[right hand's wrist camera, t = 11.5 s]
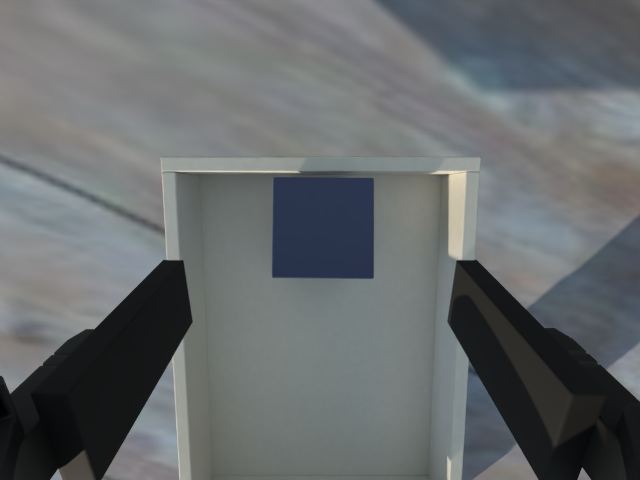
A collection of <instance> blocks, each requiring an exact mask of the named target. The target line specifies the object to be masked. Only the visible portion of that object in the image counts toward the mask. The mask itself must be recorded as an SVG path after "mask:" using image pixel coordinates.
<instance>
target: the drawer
mask: <svg viewBox="0 0 640 480" xmlns="http://www.w3.org/2000/svg"><path fill="white" fill-rule="evenodd" d="M480 162H481V157H161V171H162V184H163V201H164V219H165V236H166V253H167V260H184V267H185V274H186V280H187V287H188V293H189V300H190V306H191V313H192V320H193V322H192V324H191V326H190V328H189V329H188V331H187V333H186V335H185V336H184V338H183V340H182V341H181V343H180V345H179V347H178V348H177V350H176V352H175V354H174V355H173V373H174V390H175V407H176V425H177V442H178V459H179V476H180V480H462V466H463V449H464V432H465V415H466V398H467V381H468V364H469V359H468V357H467V355H466V354H465V352H464V350H463V348H462V347H461V345H460V343H459V341H458V340H457V338H456V336H455V335H454V333H453V331H452V329H451V328H450V326H449V324H448V322H447V320H448V313H449V306H450V300H451V293H452V287H453V280H454V273H455V267H456V260H475V245H476V228H477V211H478V194H479V177H480V172H479V171H480ZM274 177H327V178H374V278H373V279H317V278H272V226H273V178H274Z"/></svg>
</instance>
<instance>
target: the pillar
mask: <svg viewBox="0 0 640 480" xmlns="http://www.w3.org/2000/svg"><path fill="white" fill-rule="evenodd" d="M272 278H317V279H373V278H374V178H327V177H274V178H273V226H272Z"/></svg>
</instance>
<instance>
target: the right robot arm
mask: <svg viewBox="0 0 640 480" xmlns="http://www.w3.org/2000/svg"><path fill="white" fill-rule="evenodd" d="M192 322H193V320H192V313H191V306H190V300H189V293H188V287H187V280H186V274H185V267H184V260H163V261H162V262H161V263H160V264H159V265H158V266H157V267H156V268H155V269H154V270H153V271H152V272H151V273H150V274H149V275H148V276H147V277H146V278H145V279H144V280H143V281H142V282H141V283H140V284H139V285H138V286H137V287H136V288H135V289H134V290H133V291H132V292H131V293H130V294H129V295H128V296H127V297H126V298H125V299H124V300H123V301H122V302H121V303H120V304H119V305H118V306H117V307H116V308H115V309H114V310H113V311H112V312H111V313H110V314H109V315H108V316H107V317H106V318H105V319H104V320H103V321H102V322H101V323H100V324H99V325H98V326H97V327H96V328H95V329H86V330H84V331H82V332H81V333H79V334H77V335H76V336H74V337H72V338H70V339H69V340H67V341H66V342H65V343H64V344H63V345H62V346H61V347H60V348H59V349H58V350H57V351H56V352H55V353H54V355H51V356H50V357H49V358H48V359H47V360H46V361H45V362H44V363H43V366H40V367H39V368H38V369H37V370H35V371H34V372H33V373H32V374H31V375H30V376H29V377H28V378H27V379H26V380H25V381H24V382H23V383H22V384H21V385H20V386H18V387H17V388H16V389H15V390H14V391H13V392H12V393H11V394H10V393H9V391H8V388H7V386H6V383H5V381H4V378H3V377H2V376H0V480H50V479H51V478H52V476H53V475H54V473H55V472H56V471H57V469H58V468H59V471H60V474H61V476H62V479H63V480H101V479H102V478H103V476H104V474H105V473H106V471H107V469H108V467H109V466H110V464H111V462H112V460H113V459H114V457H115V455H116V454H117V452H118V450H119V448H120V447H121V445H122V443H123V441H124V440H125V438H126V436H127V435H128V433H129V431H130V429H131V428H132V426H133V424H134V423H135V421H136V419H137V417H138V416H139V414H140V412H141V410H142V409H143V407H144V405H145V404H146V402H147V400H148V398H149V397H150V395H151V393H152V391H153V390H154V388H155V386H156V385H157V383H158V381H159V379H160V378H161V376H162V374H163V372H164V371H165V369H166V367H167V366H168V364H169V362H170V360H171V359H172V357H173V355H174V354H175V352H176V350H177V348H178V347H179V345H180V343H181V341H182V340H183V338H184V336H185V335H186V333H187V331H188V329H189V328H190V326H191V324H192ZM447 322H448V324H449V326H450V328H451V329H452V331H453V333H454V335H455V336H456V338H457V340H458V341H459V343H460V345H461V347H462V348H463V350H464V352H465V354H466V355H467V357H468V359H469V360H470V362H471V364H472V366H473V367H474V369H475V371H476V373H477V374H478V376H479V378H480V379H481V381H482V383H483V385H484V386H485V388H486V390H487V391H488V393H489V395H490V397H491V398H492V400H493V402H494V404H495V405H496V407H497V409H498V410H499V412H500V414H501V416H502V417H503V419H504V421H505V423H506V424H507V426H508V428H509V429H510V431H511V433H512V435H513V436H514V438H515V440H516V441H517V443H518V445H519V447H520V448H521V450H522V452H523V454H524V455H525V457H526V459H527V460H528V462H529V464H530V466H531V467H532V469H533V471H534V473H535V474H536V476H537V478H538V479H539V480H577V479H578V476H579V474H580V471H581V468H582V467H583V469H584V470H585V471H586V473H587V474H588V476H589V477H590V478H591V480H640V401H638V400H637V399H636V398H635V397H634V396H633V395H632V394H631V393H630V392H629V391H628V390H627V389H626V388H625V387H623V386H622V385H621V384H620V383H619V382H618V381H617V380H616V379H615V378H614V377H613V376H612V375H611V374H610V373H609V372H607V371H606V370H605V369H604V368H603V367H602V366H601V365H598V364H597V361H596V360H595V359H594V358H592V357H591V356H590V355H589V354H586V351H585V350H584V349H583V348H582V347H581V346H580V345H579V344H578V343H576V342H575V341H574V340H573V339H572V338H570V337H569V336H567V335H565V334H563V333H562V332H560V331H558V330H557V329H555V328H544V327H543V326H542V325H541V324H540V323H539V322H538V321H537V320H536V319H535V318H534V317H533V316H532V315H531V314H530V313H529V312H528V311H527V310H526V309H525V308H524V307H523V306H522V305H521V304H520V303H519V302H518V301H517V300H516V299H515V298H514V297H513V296H512V295H511V294H510V293H509V292H508V291H507V290H506V289H505V288H504V287H503V286H502V285H501V284H500V283H499V282H498V281H497V280H496V279H495V278H494V277H493V276H492V275H491V274H490V273H489V272H488V271H487V270H486V269H485V268H484V267H483V266H482V265H481V264H480V263H479V262H478V261H477V260H456V267H455V273H454V280H453V287H452V293H451V300H450V306H449V313H448V320H447Z"/></svg>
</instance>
